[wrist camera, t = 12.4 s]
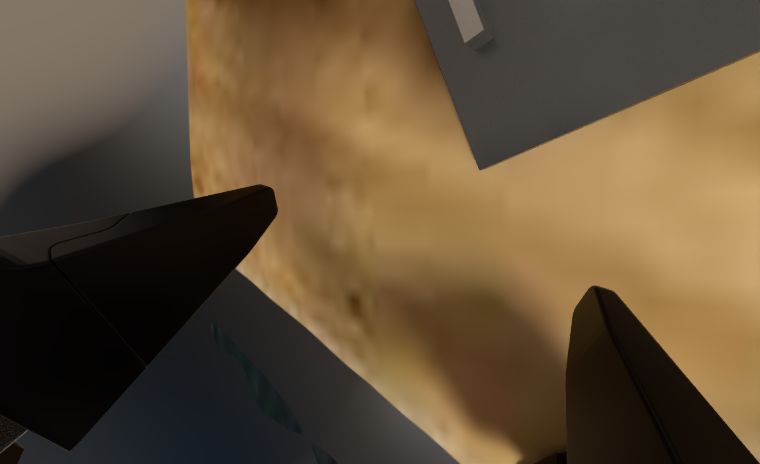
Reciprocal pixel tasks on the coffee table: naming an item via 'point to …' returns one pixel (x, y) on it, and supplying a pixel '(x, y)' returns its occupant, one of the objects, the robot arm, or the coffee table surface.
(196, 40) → the coffee table surface
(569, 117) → the keeper board
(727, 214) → the coffee table surface
